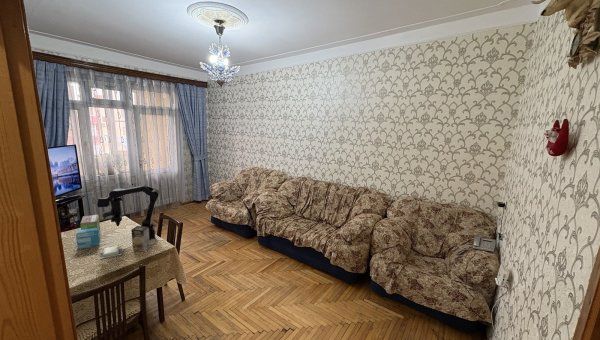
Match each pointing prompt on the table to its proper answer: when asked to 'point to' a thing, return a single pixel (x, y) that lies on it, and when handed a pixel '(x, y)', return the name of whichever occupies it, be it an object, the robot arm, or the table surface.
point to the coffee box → (140, 238)
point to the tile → (111, 251)
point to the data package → (87, 238)
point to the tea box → (90, 222)
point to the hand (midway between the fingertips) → (117, 226)
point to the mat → (112, 255)
